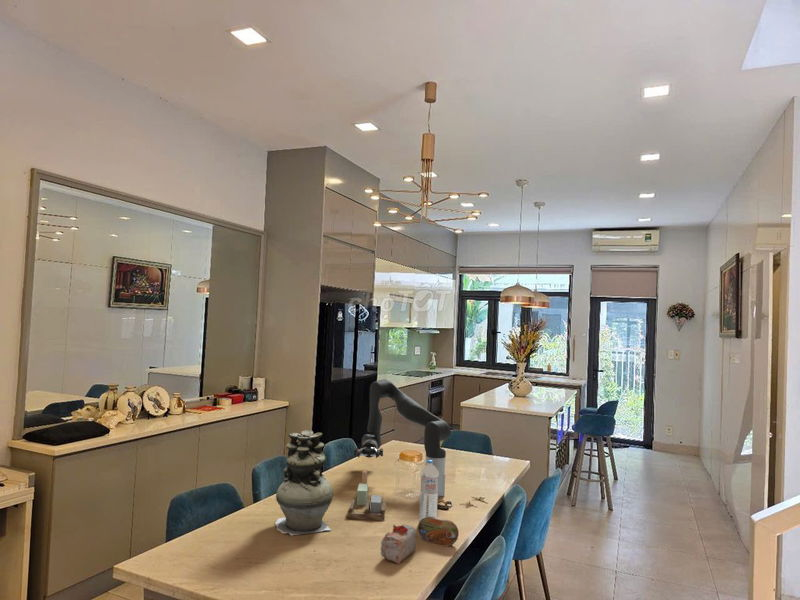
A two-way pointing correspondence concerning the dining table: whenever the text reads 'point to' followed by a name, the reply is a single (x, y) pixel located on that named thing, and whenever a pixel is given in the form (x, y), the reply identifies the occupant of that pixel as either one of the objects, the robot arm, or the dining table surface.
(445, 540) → the tin
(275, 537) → the dining table surface
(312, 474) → the decorative urn
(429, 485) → the water bottle
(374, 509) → the slate block
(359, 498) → the sage block
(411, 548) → the food item
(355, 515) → the lane rack
